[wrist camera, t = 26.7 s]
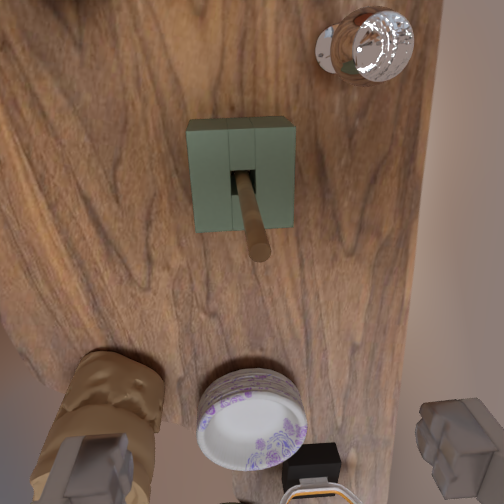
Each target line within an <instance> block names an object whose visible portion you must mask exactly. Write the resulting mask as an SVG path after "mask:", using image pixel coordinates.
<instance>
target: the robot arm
mask: <svg viewBox="0 0 504 504" xmlns="http://www.w3.org/2000/svg"><path fill="white" fill-rule="evenodd" d="M419 413H420V414H421V417H422V419H421V420H420V421H419V422H418V423H417V424H416V429H415V436H416V443H417V446H418V449H419V451H420V453H421V455H422V457H423V459H424V460H425V461H426V462H428V463H429V464H430V465H432V466H433V471H432V477H433V478H434V480H435V482H436V484H437V486H438V488H439V490H440V491H441V493H442V495H443V497H444V499H445V500H447V499H459V498H472V497H477V498H476V499H477V500H478V501H479V502H480V503H481V504H504V429H503V428H502V427H501V425H500V424H499V423H498V422H497V420H496V419H495V418H494V417H493V415H492V414H491V413H490V411H489V410H488V409H487V408H486V406H485V405H484V404H483V403H482V401H481V400H479V399H478V398H469V399H459V400H456V399H455V400H446V401H437V402H428V403H423V404H422V405H421V407H420V411H419ZM127 445H128V438H127V435H126V433H113V434H99V435H85V436H73V437H66V438H65V440H64V441H63V442H62V443H61V446H60V448H59V451H58V453H57V456H56V459H55V461H54V464H53V466H52V469H51V471H50V474H49V476H48V479H47V481H46V484H45V487H44V489H43V492H42V494H41V497H40V499H39V500H38V501H33V502H32V503H31V504H126V501H125V497H126V496H127V495H128V494H129V492H130V491H131V488H132V482H133V470H134V465H133V457H132V453H131V452H130V451H129V450H128V449H127Z"/></svg>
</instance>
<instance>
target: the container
mask: <svg viewBox="0 0 504 504" xmlns="http://www.w3.org/2000/svg"><path fill="white" fill-rule="evenodd" d="M164 393H165V386H164V381H162V379H161V377H160V376H159V375H158V374H157V373H156V372H155V371H154V370H152V369H150V368H149V367H147V366H145V365H143V364H141V363H139V362H136V361H134V360H131V359H129V358H127V357H125V356H123V355H121V354H118V353H115V352H110V351H109V352H106V351H96V352H90V353H89V354H88V355H85V356H84V357H83V358H82V360H81V361H80V363H79V365H78V367H77V369H76V371H75V374H74V377H73V378H72V381H71V383H70V385H69V387H68V390H67V392H66V394H65V397H64V399H63V401H62V404H61V406H60V408H59V411H58V413H57V415H56V418H55V420H54V422H53V425H52V427H51V429H50V431H49V433H48V436H47V438H46V441H45V443H44V446H43V448H42V451H41V453H40V456H39V459H38V463H37V465H36V467H35V469H34V470H33V472H32V474H31V476H30V484H31V485H32V487H33V488H34V496H33V501H38V500H39V499H40V497H41V494H42V492H43V489H44V487H45V484H46V481H47V479H48V476H49V474H50V471H51V469H52V466H53V464H54V461H55V459H56V456H57V453H58V451H59V448H60V446H61V443H62V442H63V441H64V440H65V438H66V437H73V436H85V435H99V434H113V433H126V435H127V438H128V445H127V449H128V450H129V451H130V452H131V453H132V457H133V465H134V470H133V482H132V488H131V491H130V492H129V494H128V495H127V496H126V497H125V501H126V504H149V501H150V492H151V487H150V484H151V481H152V477H153V471H154V464H155V437H154V433H158V432H159V431H160V423H161V417H162V410H163V403H164Z"/></svg>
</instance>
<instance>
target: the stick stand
mask: <svg viewBox="0 0 504 504" xmlns="http://www.w3.org/2000/svg"><path fill="white" fill-rule="evenodd" d="M186 141H187V151H188V161H189V171H190V181H191V191H192V201H193V211H194V221H195V231H196V233H203V232H220V231H239V230H244V224H243V219H242V213H241V208H240V202H239V196H238V191H237V185H236V180H235V175H230V171H236V170H250V175H249V177H250V181H251V184H252V187H253V191H254V194H255V197H256V201H257V204H258V207H259V211H260V214H261V217H262V221H263V224H264V228H265V229H272V228H289V227H293V223H294V185H295V146H296V126H294V125H293V124H292V123H291V122H290V121H289V120H288V119H286V118H285V117H284V116H268V117H249V118H248V117H242V118H217V119H192V120H190V121H189V124H188V127H187V129H186Z"/></svg>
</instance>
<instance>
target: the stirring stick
mask: <svg viewBox="0 0 504 504" xmlns="http://www.w3.org/2000/svg"><path fill="white" fill-rule="evenodd" d="M234 174H235V180H236V185H237V191H238V196H239V202H240V208H241V213H242V219H243V224H244V230H245V235H246V241H247V246H248V252H249V256H250V258H251V259H252V260H253V261H255V262H264V261H266V260H267V259H268V258H269V257H270V255H271V248H270V244H269V241H268V238H267V234H266V231H265V228H264V224H263V221H262V217H261V214H260V211H259V207H258V204H257V201H256V197H255V194H254V191H253V187H252V184H251V181H250V177H249V174H248V171H247V170H236V171H234Z"/></svg>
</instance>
